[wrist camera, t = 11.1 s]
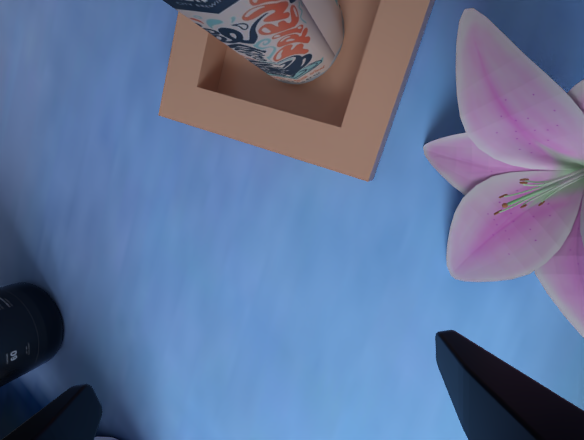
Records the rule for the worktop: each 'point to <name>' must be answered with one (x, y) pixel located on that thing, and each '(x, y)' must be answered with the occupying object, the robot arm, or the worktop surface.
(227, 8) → the beer can
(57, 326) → the supplement bottle
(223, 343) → the worktop surface
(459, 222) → the lily
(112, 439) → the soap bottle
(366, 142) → the holder
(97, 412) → the robot arm
